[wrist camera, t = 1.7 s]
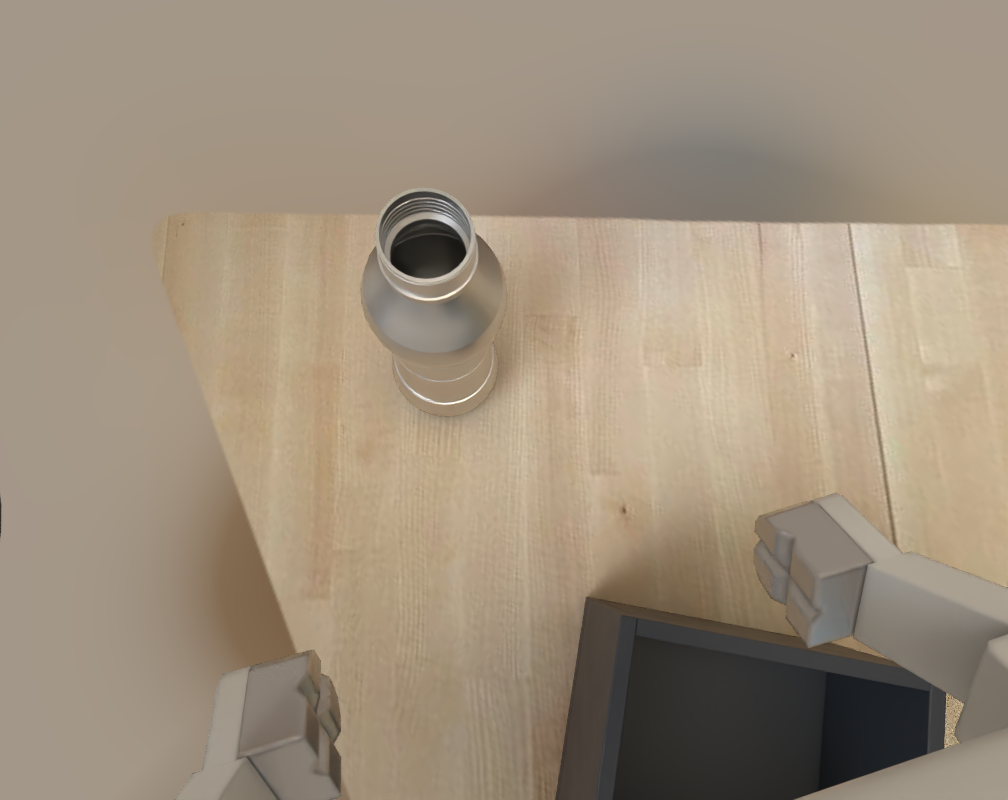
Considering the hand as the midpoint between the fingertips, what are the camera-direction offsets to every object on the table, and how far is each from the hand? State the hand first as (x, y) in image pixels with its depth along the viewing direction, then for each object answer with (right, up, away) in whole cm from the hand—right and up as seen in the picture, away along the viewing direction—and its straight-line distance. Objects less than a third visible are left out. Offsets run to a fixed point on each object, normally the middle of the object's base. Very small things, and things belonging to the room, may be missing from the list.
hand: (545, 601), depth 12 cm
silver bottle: (-5, +5, +31) cm, 32 cm away
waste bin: (+11, -16, +27) cm, 33 cm away
